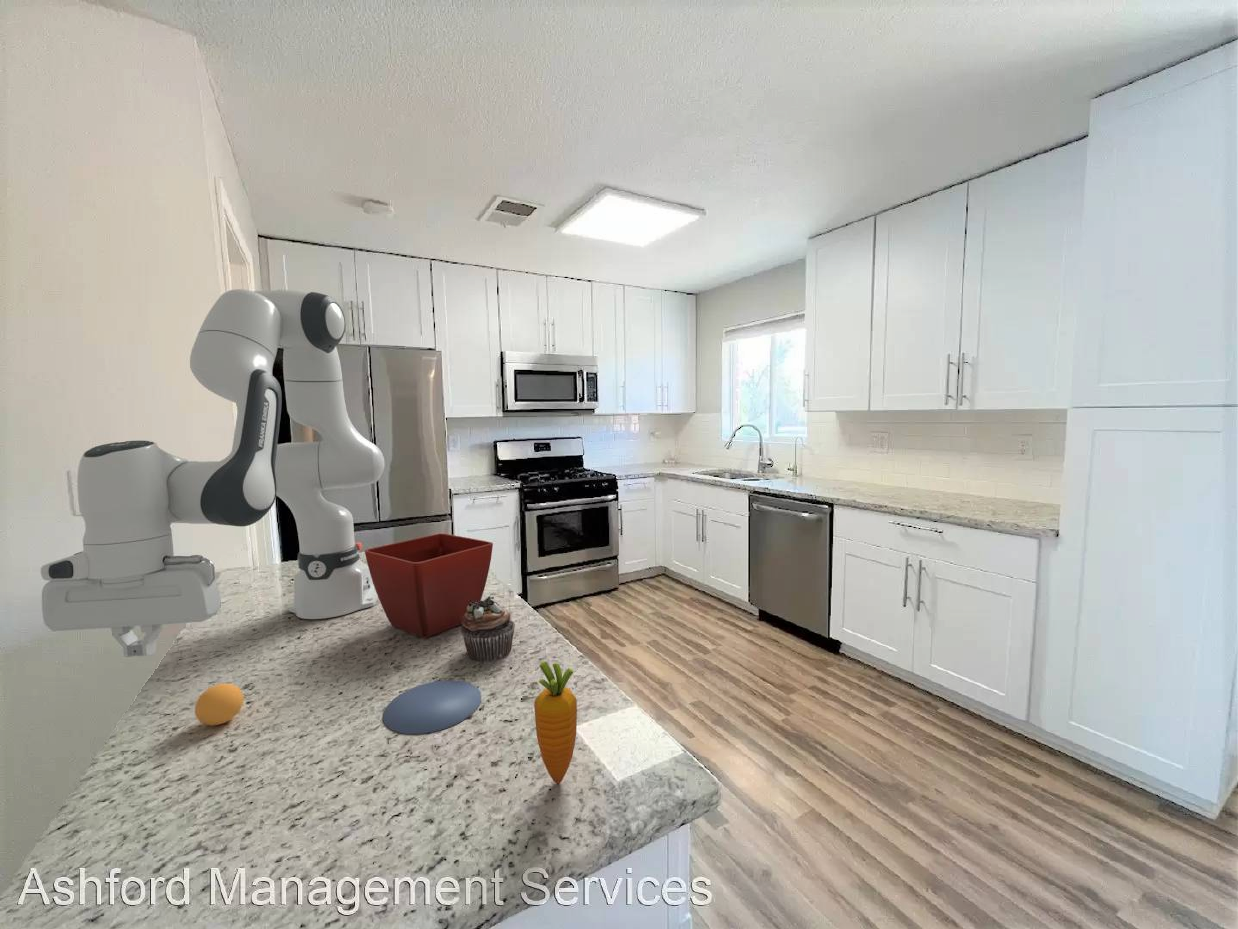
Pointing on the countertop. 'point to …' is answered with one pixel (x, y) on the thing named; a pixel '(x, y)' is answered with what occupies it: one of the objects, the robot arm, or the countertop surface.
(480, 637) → the cupcake
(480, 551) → the plant pot
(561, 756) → the carrot
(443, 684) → the disc
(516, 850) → the countertop surface
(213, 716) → the ball
